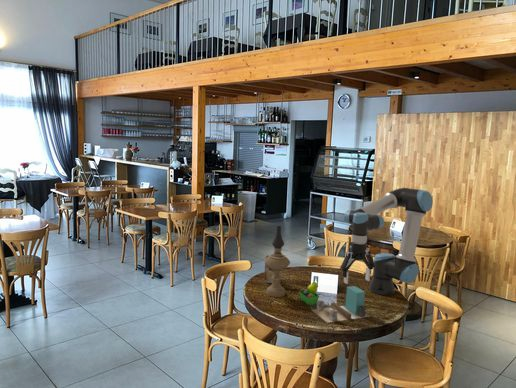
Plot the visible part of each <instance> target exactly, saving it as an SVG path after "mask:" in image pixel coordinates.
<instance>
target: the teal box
mask: <svg viewBox="0 0 516 388" xmlns="http://www.w3.org/2000/svg"><path fill="white" fill-rule="evenodd" d="M365 294H366V291H364V290H362V289H361V288H359V287H357V286H356V285H353V286H351V285H350V286H346V295H345V297H346V309H347V310H349V311H350V312H352V313H353V314H354V315H358V308H359V306H365Z"/></svg>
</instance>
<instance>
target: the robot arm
mask: <svg viewBox="0 0 516 388" xmlns="http://www.w3.org/2000/svg"><path fill="white" fill-rule="evenodd" d="M433 204H434V203H433V196H432V194H431V193H430V192H429V191H428V190H424V189H417V188H410V187H409V188H408V187H401V188H398V189H397V188H395V189H394V190H390V191H388V192H386V193H385V194H384V195H383V196H382V197H380V198H378V199H376V200H374V201H372V202H370V203H368V204H366V205H364V206H362V207H359V208H357V209H355V210H352V209H348V210H346V211H345V213H343V214H344V215H343V220H344V222H345V223H346V224H349V225H352V232H351V235H352V236H351V247H350V248H351V252H349V251H346V253H345V256H344V259H343V260H342V263H341V265H340V267H339V269H340V270H341V271H342V277H343V283H344V284H346V285H348V284H349V269H350V268H351V267H352V265H353V264H354V263H355V262H356V261H363V263H364V264H365V266H366V268H365V276H364V277H365V281H367V282H370V283H369V286H368V289H369V290H368V291H370V292H371V293H373V294H377V295H382V296H391V295H393V294H395V293H396V292H395V291H396V289H395V285H394V281H393V280H397V281H400V282H401V283H405V284H411V283H412V282H414V281H415V280H416V279H417V277H418V275H419V273H420V272H419V271H420V269H419V266H418V265H417V259H416V258H415V254H416V250H417V244H418V241H419V235H420V230H421V226H422V221H423V217H424V216H426V215H427V212H430V211H431V209H432V207H433ZM397 207H398V208H404V211H405V213H406V217H405V222H404V226H403V231H402V236H401V241H400V246H399V251H398V254H397V255H395V254H393V253H386V252H385V253H383V252H381V253H377V254H375V255H374V260H373V257H372V254H371V253H372V252H371V250H368V249H367V242H368V231H370V230H372V231H373V230H378V229H381V228H383V226H384V225H385V218H384V217H383V216H382V215H381V214H380V213H382V212H385V211H386V210H389V209H394V208H397ZM366 257H367V258H366ZM371 274H372V278H371Z"/></svg>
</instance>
